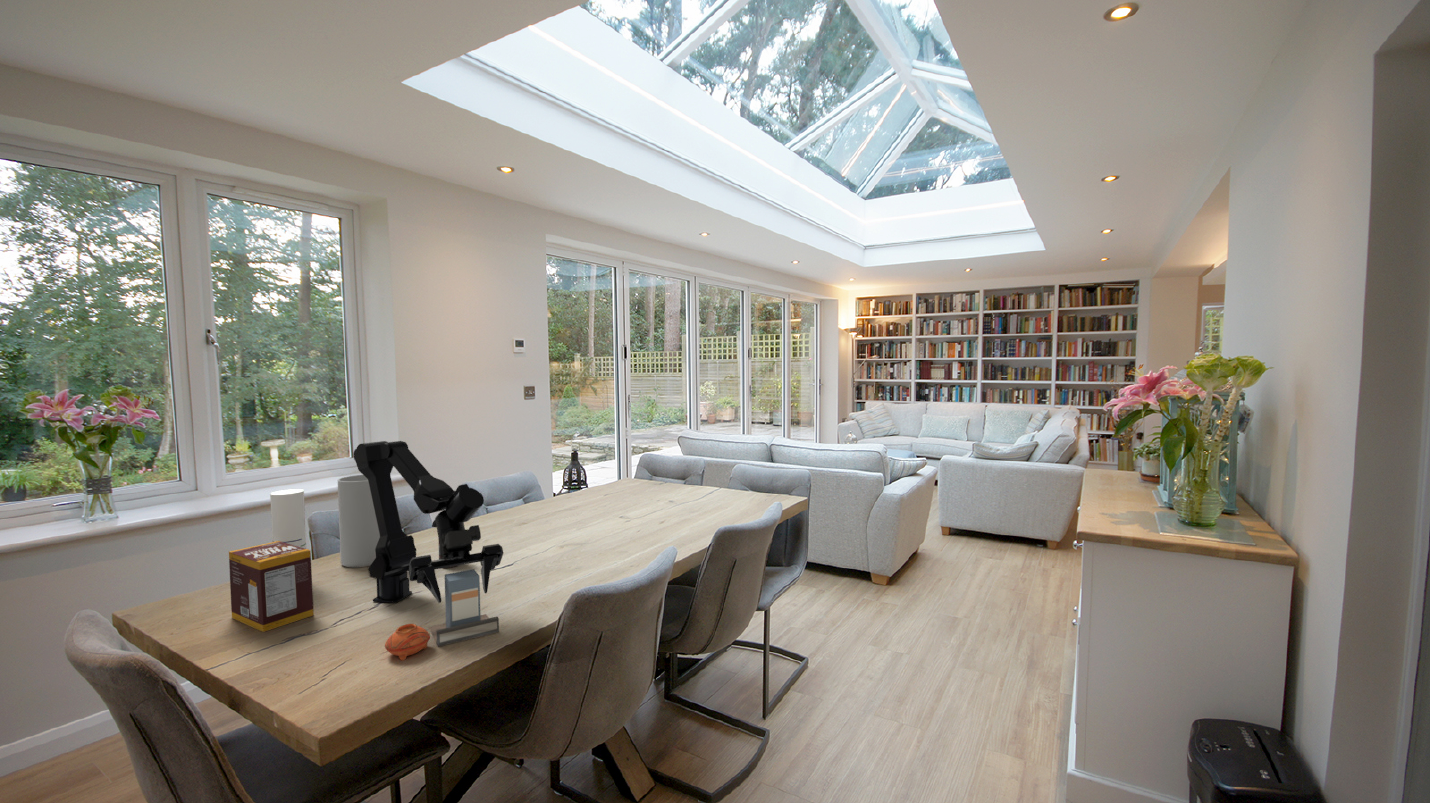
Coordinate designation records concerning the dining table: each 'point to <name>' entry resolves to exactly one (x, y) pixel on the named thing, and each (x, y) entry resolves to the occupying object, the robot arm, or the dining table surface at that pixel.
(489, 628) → the plate
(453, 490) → the robot arm
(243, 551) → the supplement box
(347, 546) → the cylinder vase
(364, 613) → the dining table surface
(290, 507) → the cylindrical container
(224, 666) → the dining table surface
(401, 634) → the pot
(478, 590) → the blue-grey carton
